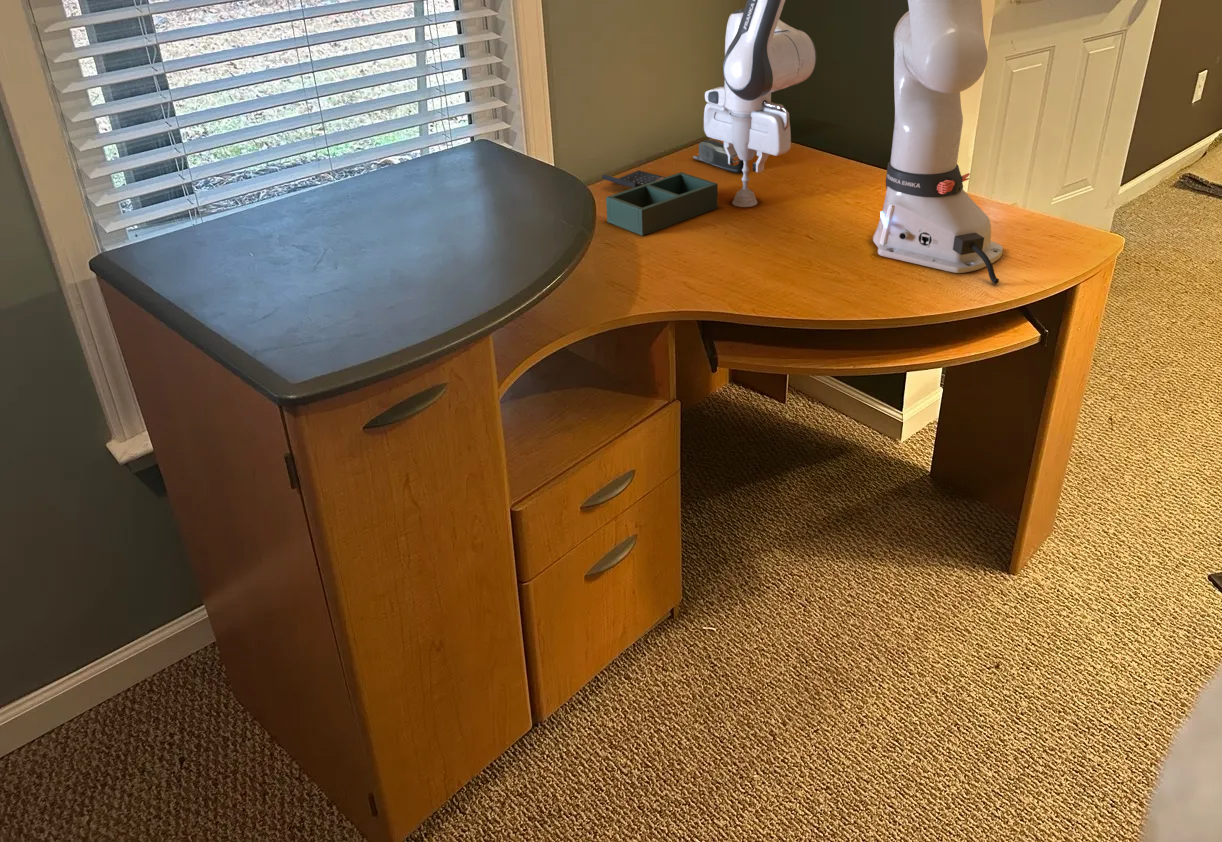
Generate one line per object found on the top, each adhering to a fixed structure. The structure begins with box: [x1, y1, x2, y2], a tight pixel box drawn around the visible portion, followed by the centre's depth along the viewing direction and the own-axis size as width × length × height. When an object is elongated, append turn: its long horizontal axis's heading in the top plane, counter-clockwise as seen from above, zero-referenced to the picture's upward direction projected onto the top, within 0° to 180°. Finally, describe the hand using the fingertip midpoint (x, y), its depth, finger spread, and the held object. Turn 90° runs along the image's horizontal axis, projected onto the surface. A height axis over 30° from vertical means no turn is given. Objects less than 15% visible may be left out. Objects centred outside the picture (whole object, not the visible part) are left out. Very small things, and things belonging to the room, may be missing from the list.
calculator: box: [601, 169, 666, 189], centre depth 209 cm, size 9×12×3 cm
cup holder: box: [605, 171, 719, 237], centre depth 193 cm, size 10×20×5 cm, turn 130°
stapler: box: [692, 139, 744, 174], centre depth 217 cm, size 5×3×15 cm
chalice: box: [730, 113, 758, 208], centre depth 194 cm, size 7×7×18 cm
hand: (745, 168), depth 195 cm, fingers closed on chalice, 5 cm apart
